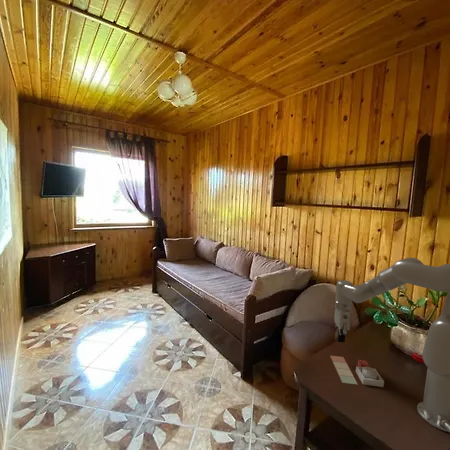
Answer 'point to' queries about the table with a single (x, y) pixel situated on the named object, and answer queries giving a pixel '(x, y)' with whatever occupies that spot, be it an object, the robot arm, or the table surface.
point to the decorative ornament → (418, 357)
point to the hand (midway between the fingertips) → (339, 338)
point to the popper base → (367, 381)
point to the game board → (343, 370)
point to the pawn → (337, 334)
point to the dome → (369, 373)
